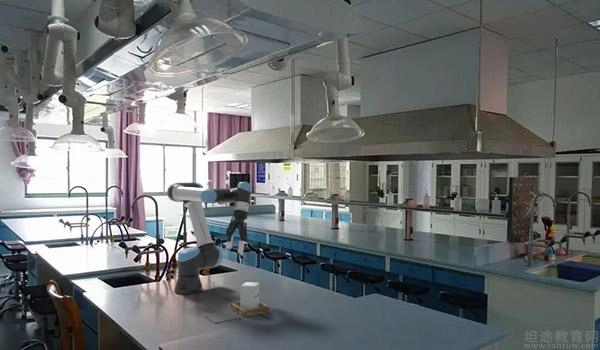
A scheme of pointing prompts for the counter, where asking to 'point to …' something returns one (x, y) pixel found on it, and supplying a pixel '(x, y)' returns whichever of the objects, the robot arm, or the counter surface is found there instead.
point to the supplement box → (249, 296)
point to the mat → (221, 316)
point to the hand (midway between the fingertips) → (234, 251)
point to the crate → (247, 313)
